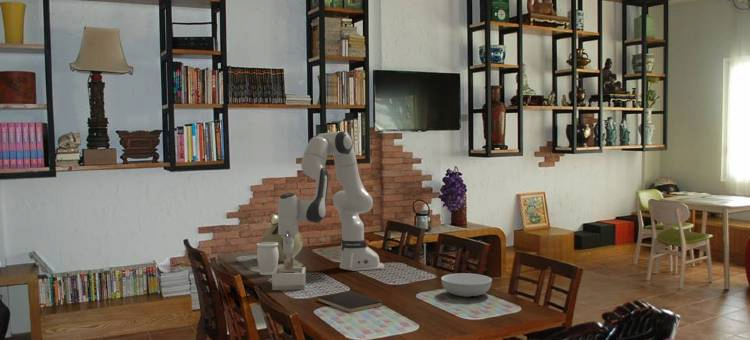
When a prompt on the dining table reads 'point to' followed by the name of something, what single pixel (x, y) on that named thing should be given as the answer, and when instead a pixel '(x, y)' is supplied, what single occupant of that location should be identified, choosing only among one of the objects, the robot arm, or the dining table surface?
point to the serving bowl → (466, 284)
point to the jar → (267, 257)
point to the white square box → (289, 278)
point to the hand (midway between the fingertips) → (288, 260)
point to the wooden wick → (288, 264)
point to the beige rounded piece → (273, 236)
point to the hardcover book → (350, 301)
